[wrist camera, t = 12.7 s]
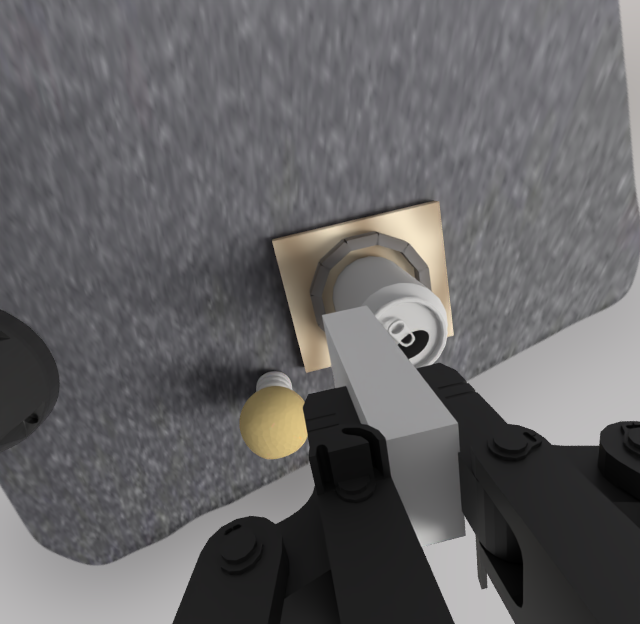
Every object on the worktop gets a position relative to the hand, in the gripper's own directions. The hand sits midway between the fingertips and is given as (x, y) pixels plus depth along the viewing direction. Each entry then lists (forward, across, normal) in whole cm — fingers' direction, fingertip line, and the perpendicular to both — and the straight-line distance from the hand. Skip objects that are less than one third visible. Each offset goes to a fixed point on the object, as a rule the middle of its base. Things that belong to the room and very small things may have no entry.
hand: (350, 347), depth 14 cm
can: (+26, +6, -7) cm, 28 cm away
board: (+27, +6, -7) cm, 29 cm away
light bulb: (+27, -5, -16) cm, 32 cm away
